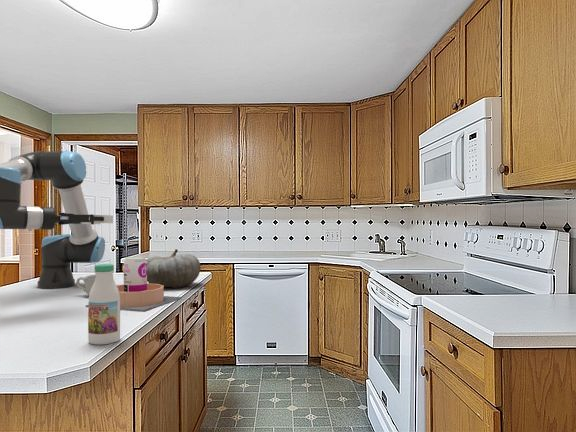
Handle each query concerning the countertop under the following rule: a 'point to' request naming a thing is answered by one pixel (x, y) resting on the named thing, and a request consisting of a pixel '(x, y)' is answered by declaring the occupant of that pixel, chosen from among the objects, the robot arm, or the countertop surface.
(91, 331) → the milk bottle
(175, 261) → the gourd
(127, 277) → the supplement can
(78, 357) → the countertop surface
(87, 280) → the teacup
